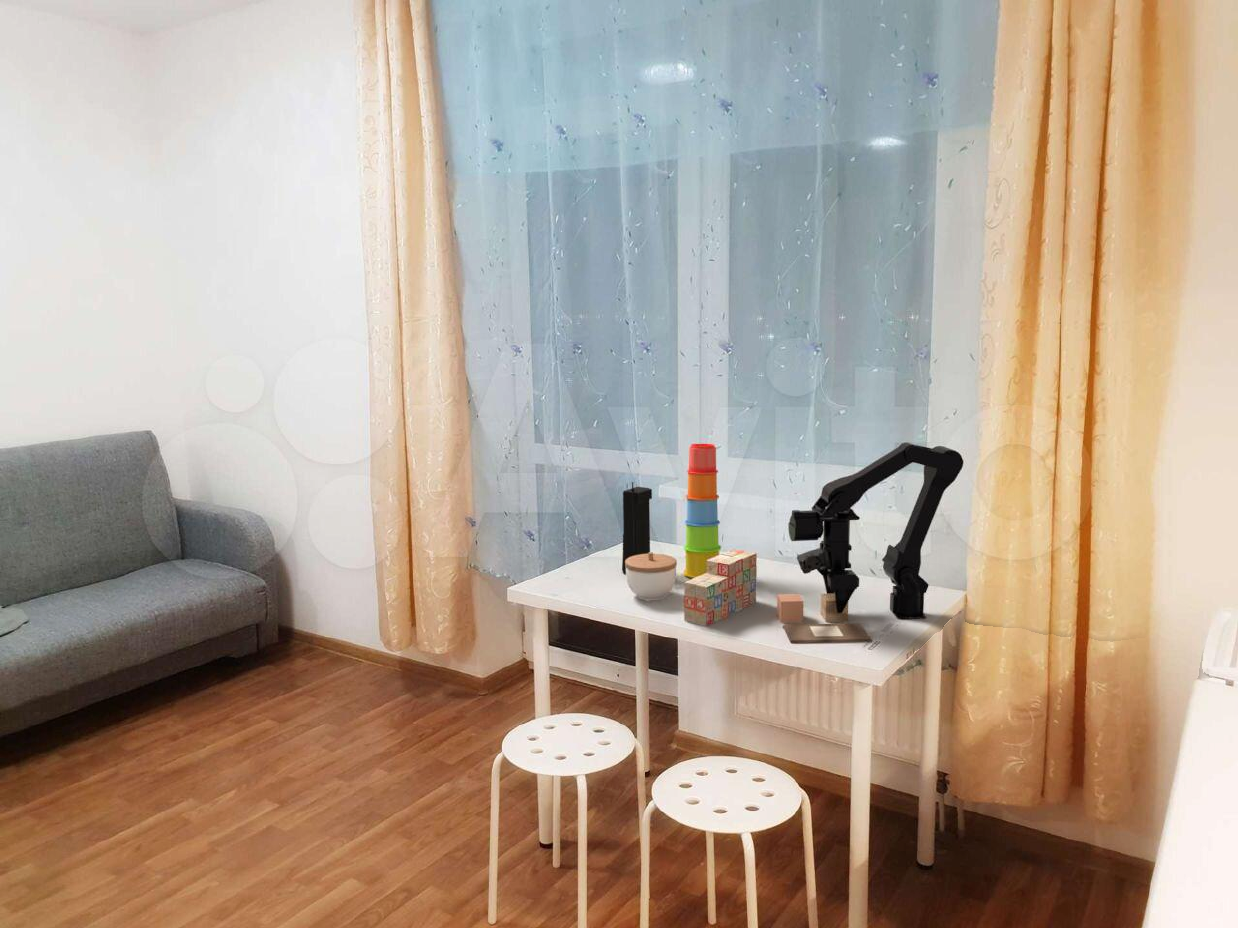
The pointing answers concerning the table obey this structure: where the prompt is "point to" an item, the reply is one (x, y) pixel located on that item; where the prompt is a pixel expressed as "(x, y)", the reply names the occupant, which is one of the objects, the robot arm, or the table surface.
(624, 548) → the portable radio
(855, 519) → the robot arm
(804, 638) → the brown flat panel
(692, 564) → the stacking cups
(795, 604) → the terracotta cube
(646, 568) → the lidded bowl
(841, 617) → the oak cube
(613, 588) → the table surface
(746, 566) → the stack of blocks
